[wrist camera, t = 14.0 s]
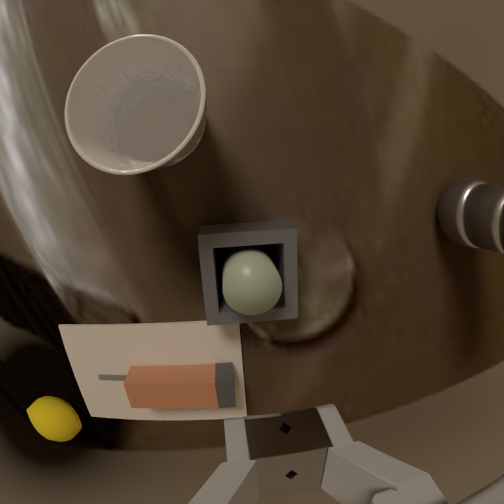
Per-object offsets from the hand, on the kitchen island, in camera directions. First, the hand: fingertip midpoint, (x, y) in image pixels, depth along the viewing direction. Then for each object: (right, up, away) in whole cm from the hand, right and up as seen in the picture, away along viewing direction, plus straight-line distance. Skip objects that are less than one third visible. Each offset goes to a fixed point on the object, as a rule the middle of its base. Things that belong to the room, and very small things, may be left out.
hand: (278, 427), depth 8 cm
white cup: (-8, +15, +16) cm, 23 cm away
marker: (-7, -7, +21) cm, 24 cm away
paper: (-11, -8, +21) cm, 25 cm away
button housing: (-1, +4, +19) cm, 20 cm away
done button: (-1, +4, +19) cm, 19 cm away
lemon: (-23, -13, +22) cm, 35 cm away
